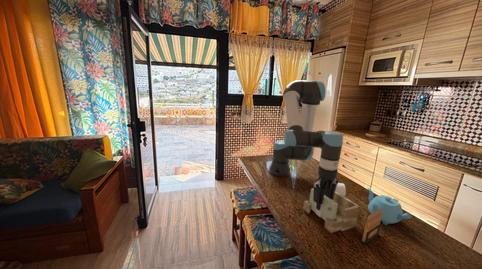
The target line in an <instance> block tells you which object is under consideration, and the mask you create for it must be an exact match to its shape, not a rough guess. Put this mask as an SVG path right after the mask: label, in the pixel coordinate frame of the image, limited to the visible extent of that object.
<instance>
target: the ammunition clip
mask: <svg viewBox="0 0 482 269" xmlns="http://www.w3.org/2000/svg"><path fill="white" fill-rule="evenodd" d="M381 215H382V209H380V210H378V211H376V212H374V213H373V214H371V213H370V214H369V215H368V216H367V219H366V221H365V224H364V228H363V229H362V232H361V233H362V234H361V237H360V242H363V243H365V244H367V243H368V242H369V241H371V240H372V239H373V238H375V237H377V236H378V235H379V234H380V229H381V223H382V221H381Z"/></svg>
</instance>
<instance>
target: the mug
mask: <svg viewBox="0 0 482 269" xmlns="http://www.w3.org/2000/svg"><path fill="white" fill-rule="evenodd" d="M346 191H347V188H346V185H345V183H342V182H338V184H337V186H336V190H335V192H337V193H338V194H340V195H342V196H343V197H345V198H346Z"/></svg>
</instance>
